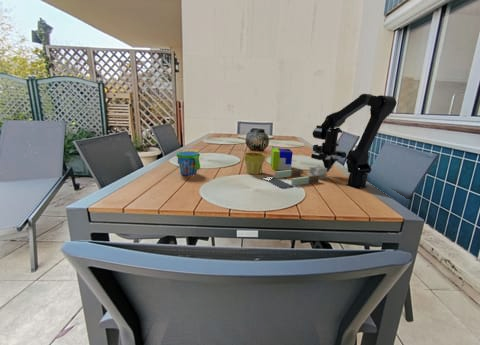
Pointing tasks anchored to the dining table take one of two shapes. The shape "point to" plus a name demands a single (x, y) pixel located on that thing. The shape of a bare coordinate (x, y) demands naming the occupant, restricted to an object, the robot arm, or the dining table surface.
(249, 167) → the plant pot
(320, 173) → the grey block
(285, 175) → the lane rails
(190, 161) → the snack cup
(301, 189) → the dining table surface
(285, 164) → the puzzle toy
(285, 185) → the trap pit mat
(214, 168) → the dining table surface
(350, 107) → the robot arm
